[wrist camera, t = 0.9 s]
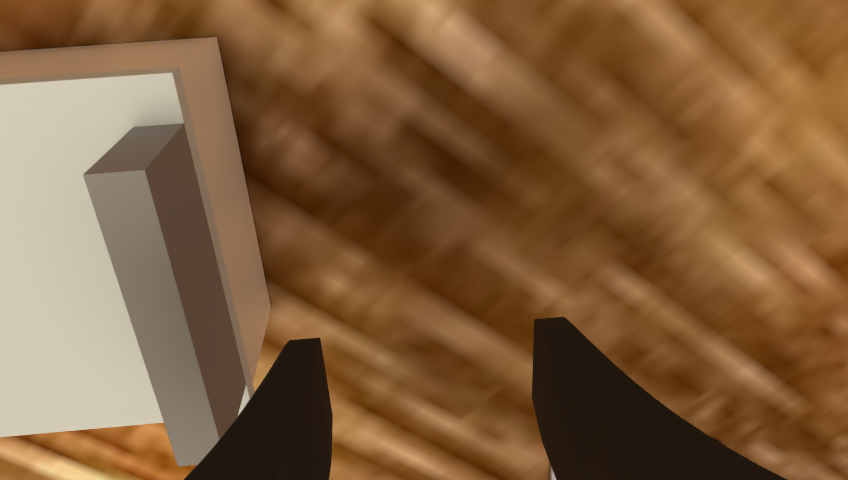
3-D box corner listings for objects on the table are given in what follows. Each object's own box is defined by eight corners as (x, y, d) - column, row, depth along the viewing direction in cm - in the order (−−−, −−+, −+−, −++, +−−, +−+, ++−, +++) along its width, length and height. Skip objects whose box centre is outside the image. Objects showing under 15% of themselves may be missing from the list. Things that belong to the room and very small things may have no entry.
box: (216, 36, 20) (176, 72, 16) (271, 308, 24) (250, 390, 20) (-187, 64, 19) (-337, 108, 15) (-53, 335, 24) (-140, 424, 20)
